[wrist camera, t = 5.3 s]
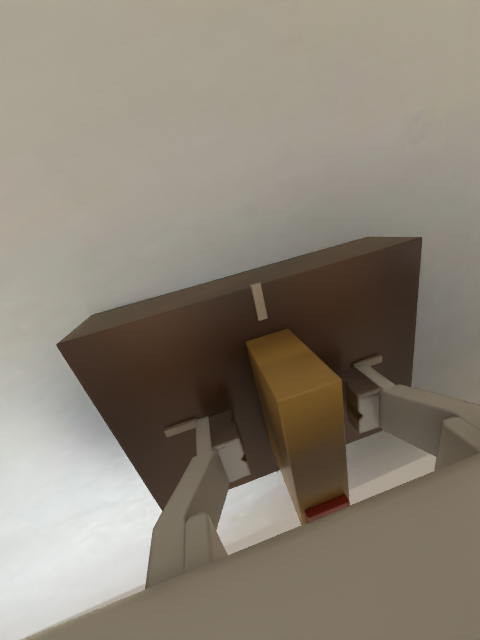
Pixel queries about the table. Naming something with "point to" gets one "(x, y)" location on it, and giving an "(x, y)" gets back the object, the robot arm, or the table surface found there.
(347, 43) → the table surface
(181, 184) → the table surface
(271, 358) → the thumb turn
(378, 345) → the plate
